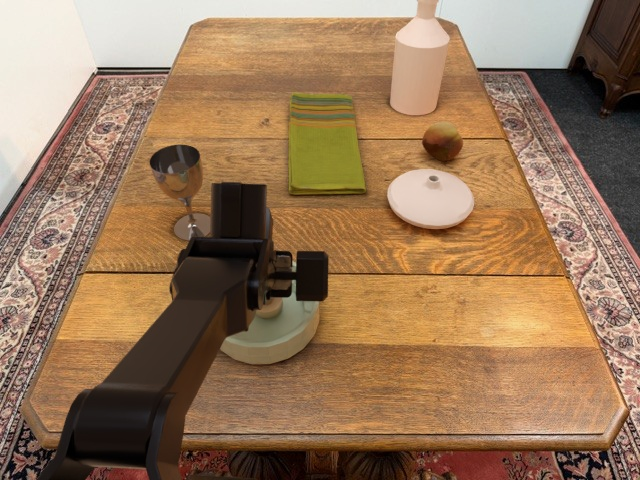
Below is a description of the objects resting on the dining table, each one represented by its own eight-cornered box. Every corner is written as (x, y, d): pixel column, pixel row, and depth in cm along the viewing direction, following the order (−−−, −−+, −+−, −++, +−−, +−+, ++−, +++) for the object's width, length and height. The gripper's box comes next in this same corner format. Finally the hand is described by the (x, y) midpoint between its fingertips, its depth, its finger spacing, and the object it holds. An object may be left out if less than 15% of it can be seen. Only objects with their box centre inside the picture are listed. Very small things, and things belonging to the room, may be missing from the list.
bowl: (298, 379, 64) (297, 360, 61) (191, 349, 68) (183, 329, 64) (332, 289, 75) (332, 268, 72) (238, 267, 79) (233, 246, 75)
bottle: (440, 116, 112) (462, 4, 94) (390, 115, 112) (402, 4, 94) (434, 91, 120) (452, -16, 102) (387, 91, 120) (397, -16, 103)
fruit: (459, 170, 97) (467, 136, 91) (418, 165, 98) (424, 132, 92) (459, 149, 102) (466, 116, 96) (420, 145, 103) (425, 112, 98)
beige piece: (287, 313, 70) (280, 253, 61) (255, 322, 69) (244, 263, 60) (278, 289, 73) (270, 229, 64) (247, 298, 72) (235, 238, 63)
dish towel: (351, 102, 117) (352, 90, 114) (367, 194, 92) (368, 181, 89) (289, 104, 116) (288, 91, 114) (288, 197, 91) (286, 184, 89)
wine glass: (207, 244, 83) (189, 175, 72) (164, 239, 84) (140, 171, 73) (221, 214, 88) (207, 146, 77) (181, 210, 89) (161, 142, 78)
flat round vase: (378, 229, 85) (382, 199, 80) (392, 176, 95) (396, 147, 90) (468, 245, 82) (477, 214, 77) (472, 189, 92) (481, 159, 87)
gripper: (328, 207, 51) (330, 214, 67) (159, 205, 52) (200, 212, 68) (326, 309, 52) (328, 292, 67) (158, 305, 52) (199, 290, 68)
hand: (264, 270), depth 67 cm, fingers closed on beige piece, 2 cm apart
